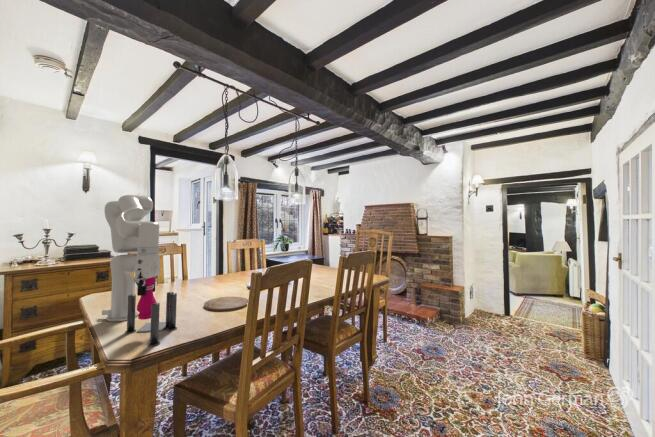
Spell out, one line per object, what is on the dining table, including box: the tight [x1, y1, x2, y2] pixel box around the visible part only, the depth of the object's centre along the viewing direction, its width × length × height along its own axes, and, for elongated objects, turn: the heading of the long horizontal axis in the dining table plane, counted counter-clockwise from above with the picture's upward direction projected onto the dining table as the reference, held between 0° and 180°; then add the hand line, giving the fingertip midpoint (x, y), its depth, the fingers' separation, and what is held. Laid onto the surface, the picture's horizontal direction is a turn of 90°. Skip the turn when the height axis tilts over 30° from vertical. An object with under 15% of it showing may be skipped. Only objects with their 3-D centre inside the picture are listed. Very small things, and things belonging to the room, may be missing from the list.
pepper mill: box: [136, 277, 158, 321], centre depth 116 cm, size 7×7×20 cm
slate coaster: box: [136, 321, 166, 333], centre depth 125 cm, size 10×10×1 cm
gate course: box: [124, 291, 178, 347], centre depth 115 cm, size 20×22×16 cm
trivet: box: [203, 296, 249, 312], centre depth 161 cm, size 25×25×2 cm
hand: (146, 293), depth 115 cm, fingers closed on pepper mill, 5 cm apart
